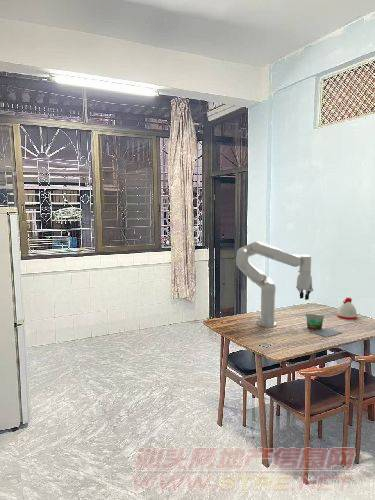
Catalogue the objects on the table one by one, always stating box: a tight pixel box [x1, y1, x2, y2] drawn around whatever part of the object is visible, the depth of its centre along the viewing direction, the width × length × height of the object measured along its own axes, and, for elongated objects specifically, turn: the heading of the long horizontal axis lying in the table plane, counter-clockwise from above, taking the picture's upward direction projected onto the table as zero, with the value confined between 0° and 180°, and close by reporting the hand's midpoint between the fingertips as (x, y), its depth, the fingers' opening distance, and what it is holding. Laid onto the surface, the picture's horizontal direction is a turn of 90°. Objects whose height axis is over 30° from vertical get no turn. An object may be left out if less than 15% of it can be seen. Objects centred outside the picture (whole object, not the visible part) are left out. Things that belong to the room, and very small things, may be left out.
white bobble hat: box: [336, 297, 358, 320], centre depth 277 cm, size 14×14×15 cm
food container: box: [304, 312, 325, 331], centre depth 249 cm, size 12×6×10 cm, turn 68°
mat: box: [310, 327, 343, 339], centre depth 241 cm, size 12×16×1 cm
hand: (304, 298), depth 255 cm, fingers open, 3 cm apart
